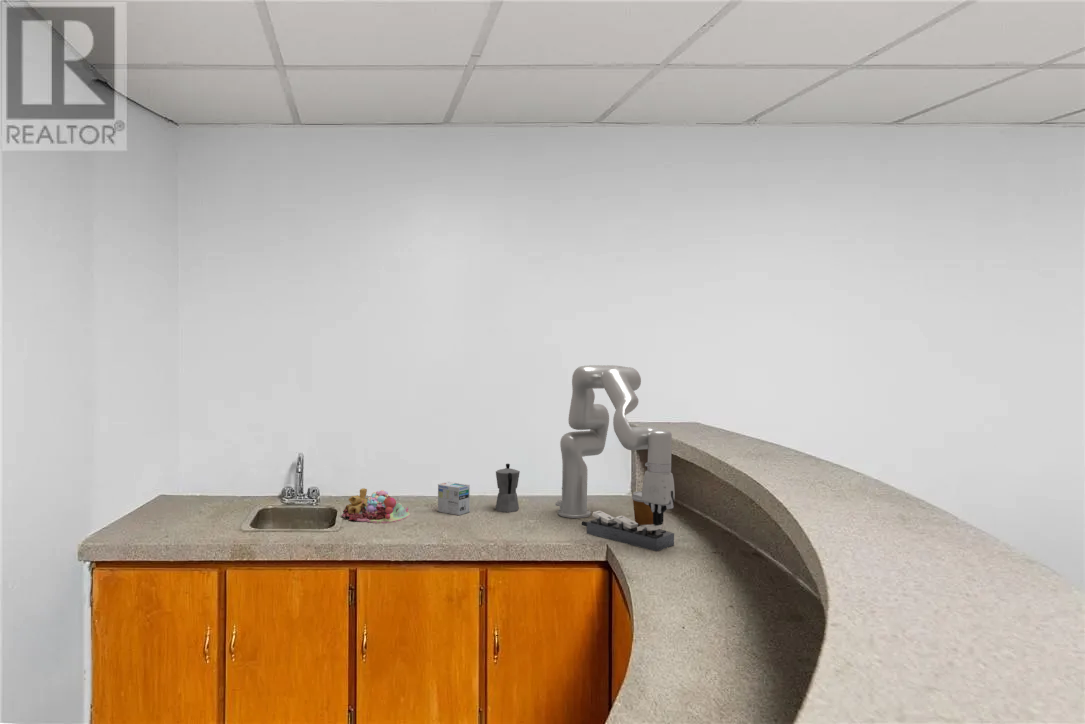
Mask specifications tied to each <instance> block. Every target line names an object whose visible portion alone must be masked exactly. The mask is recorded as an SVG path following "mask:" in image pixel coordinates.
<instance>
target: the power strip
mask: <svg viewBox="0 0 1085 724" xmlns="http://www.w3.org/2000/svg"><path fill="white" fill-rule="evenodd" d="M581 526H583V527H586V534H588V535H591V536H596V537H599V538H603V539H606V540H610V541H614V542H619V543H622V544H626V545H629V546H634V547H638V548H642V549H644V550H645V549H646V550H650V551H654V552H659V551H661V550H664V549H667V547H668V548H670V547H674V545H675V532H670V531H667V530H665V529H662V528H661V529H658V530H645V529H642V531H637V527H635V528H632V529H629V528H627V527H625V526H624V525H623V524H620V523H618V522H616V521H615V522H611V523H606V522H604V521H602V520H601V519H599V518H596V519H592V520H589V521H584V520H582V521H581ZM638 526H642V525H640V524H638Z"/></svg>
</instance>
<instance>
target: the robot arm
mask: <svg viewBox="0 0 1085 724" xmlns="http://www.w3.org/2000/svg"><path fill="white" fill-rule="evenodd" d="M641 383H642V377H641V375H640V373H639V372H638V371H637V369H636V368H634V367H631V366H630V367H628V366H621V365H613V364H612V365H608V364H607V365H602V364H601V365H599V364H598V365H595V364H594V365H591V364H590V365H582V366H578V367H577V368H575V370H574V371H573V373H572V377H571V385H572V386H571V388H572V394H571V400H570V406H569V412H568V413H569V414H568V420H567V421H568V426H569V427H570V428H572V430H576V431H569V432H566V433H564V434H563V435H562V436H561V438H560V442H559V446H560V447H559V448H560V453H561V459H562V465H561V467H562V471H561V472H562V473H561V474H562V480H561V482H562V483H561V484H562V486H561V499H558V500H556V502H555V503H554V505H555V506H556V507H559V509H558V510H557V515H558V516H560V517H563V518H568V519H582V518H583V519H584V518H588V517H590V516H591V515H592V514H591V510H590V509H588V507H587V506H588V465H587V464H586V462H585V460H584V459H583V457H589V456H598V455H600V454H602V453H603V452H604V449H605V446H606V442H607V435H608V431H609V424H610V414H609V410H608V408H607V407H606V406H605V405H603V404H600V403H595V398H596V395H595V391H594V389H604V391H605V392H606V394H607V396H608V397H609V399H610V400H609V401H610V402H611V403H612V405H613V408H614V409H615V411H614V414H613V417H612V418H613V419H612V420H613V421H612V425H613V431H614V433H615V436H616V438H617V439H618V442H620V444H621V446H622V447H623V448H624V449H626V450H628V451H639V450H647V462H645V463H644V466H645V467H646V468H647V469H646V470H645V472H644V476H643V481H642V487H641V491H642V500H643V501H644V503H645V504H647V505H649V506H650V508H651V511H652V512H653V525H657V526H658V525H664V517H665V516H664V514H665V512H666V510H672V509H674V502H675V498H676V497H675V496H676V495H675V493H676V492H675V491H676V490H675V480H674V475H673V473H672V451H673V450H672V446H673V443H672V442H673V438H672V437H673V436H672V432H671V431H670V430H667V429H661V428H659V427H657V426H655V425H649V426H648V425H647V426H645V425H644V426H631V425H630V423H629V421H628V419H627V417H626V416H627V415H628V414H630V413H632V412H633V411H634V410H635V409H636V408H637V407H638V405H639V398H638V396H637V395H636V393H635V391H637V390H638V389H639V388H640V387H641Z"/></svg>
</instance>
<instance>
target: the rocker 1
mask: <svg viewBox="0 0 1085 724" xmlns="http://www.w3.org/2000/svg"><path fill="white" fill-rule="evenodd" d="M591 515H592V517H594V518H596V519H597V518H599V519H601V520H602V521H604V522H606V523H611V522H615V521H614V518H615V516H613V515H610V514H608V513H606V512H604V511H602V510H596V511H593V512H592V514H591Z"/></svg>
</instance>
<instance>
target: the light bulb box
mask: <svg viewBox="0 0 1085 724" xmlns="http://www.w3.org/2000/svg"><path fill="white" fill-rule="evenodd" d="M470 486H471V485H470V484H465V483H459V482H454V481H453V482H452V481H446V482H442V483H438V484H437V512H440V513H444V514H450V515H456V516H461V515H465V514H468V513H470V511H471V510H470V507H471V506H470V499H471V498H470V496H471V494H470V491H471V490H470V488H471V487H470Z"/></svg>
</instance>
